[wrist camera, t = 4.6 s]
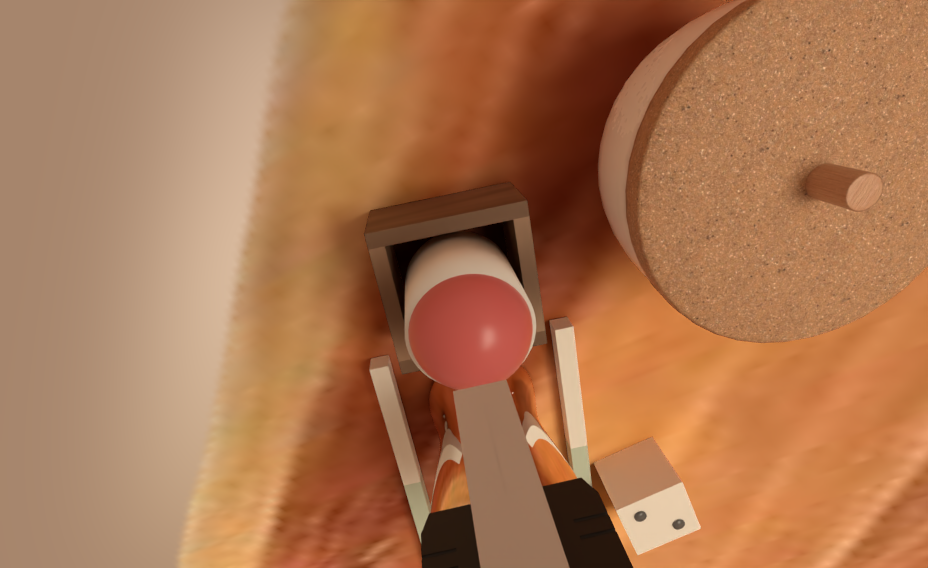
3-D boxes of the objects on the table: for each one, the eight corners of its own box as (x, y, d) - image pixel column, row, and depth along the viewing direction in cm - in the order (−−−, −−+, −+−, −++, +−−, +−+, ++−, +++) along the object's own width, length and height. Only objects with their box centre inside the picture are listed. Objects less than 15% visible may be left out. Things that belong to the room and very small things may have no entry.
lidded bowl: (520, 214, 27) (589, 304, 17) (643, -51, 23) (834, -148, 13) (720, 295, 30) (884, 413, 19) (860, 72, 26) (1156, 74, 16)
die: (592, 461, 33) (616, 511, 30) (651, 435, 33) (683, 483, 29) (613, 503, 35) (638, 556, 31) (669, 479, 35) (701, 529, 31)
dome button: (393, 243, 24) (388, 309, 17) (503, 221, 24) (539, 277, 17) (417, 340, 26) (421, 432, 19) (519, 318, 26) (557, 403, 19)
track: (370, 358, 29) (369, 370, 28) (567, 316, 29) (573, 326, 28) (453, 641, 38) (455, 658, 37) (602, 607, 38) (608, 623, 37)
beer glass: (555, 421, 32) (670, 693, 18) (447, 461, 32) (478, 759, 18) (519, 326, 29) (622, 559, 15) (402, 370, 29) (398, 638, 16)
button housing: (369, 210, 26) (364, 234, 22) (510, 181, 26) (527, 200, 22) (402, 335, 29) (402, 374, 25) (529, 308, 29) (547, 343, 25)
